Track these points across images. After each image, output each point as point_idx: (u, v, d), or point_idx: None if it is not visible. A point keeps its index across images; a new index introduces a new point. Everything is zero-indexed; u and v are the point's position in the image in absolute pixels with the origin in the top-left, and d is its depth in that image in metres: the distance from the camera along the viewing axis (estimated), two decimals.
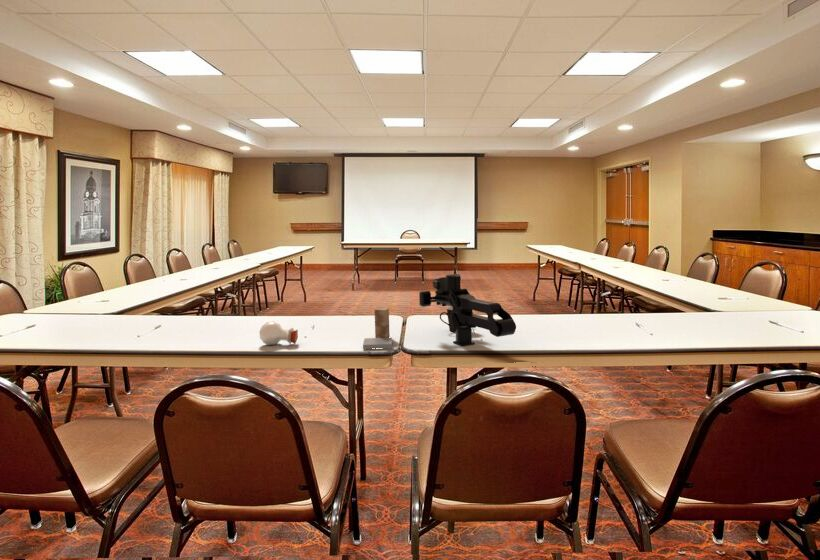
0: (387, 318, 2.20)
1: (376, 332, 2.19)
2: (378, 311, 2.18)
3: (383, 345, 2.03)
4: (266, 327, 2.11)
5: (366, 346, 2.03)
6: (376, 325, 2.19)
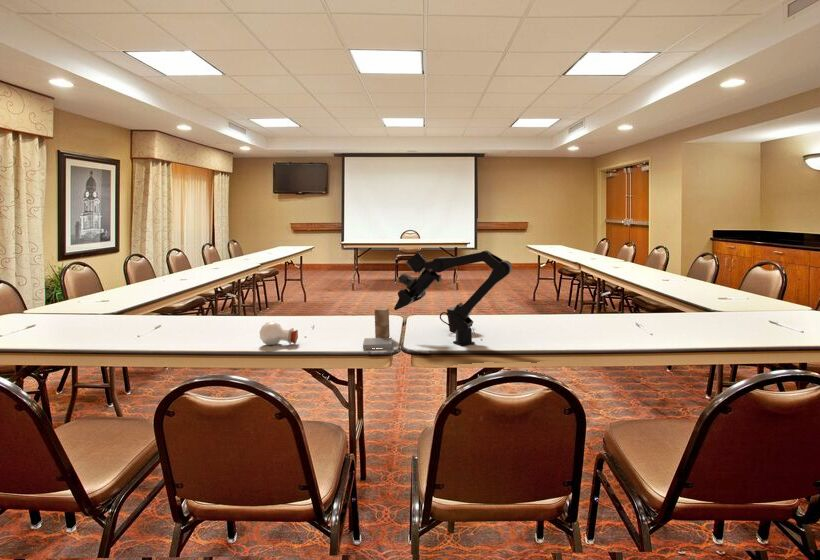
0: (387, 318, 2.20)
1: (376, 332, 2.19)
2: (378, 311, 2.18)
3: (383, 345, 2.03)
4: (266, 327, 2.11)
5: (366, 346, 2.03)
6: (376, 325, 2.19)
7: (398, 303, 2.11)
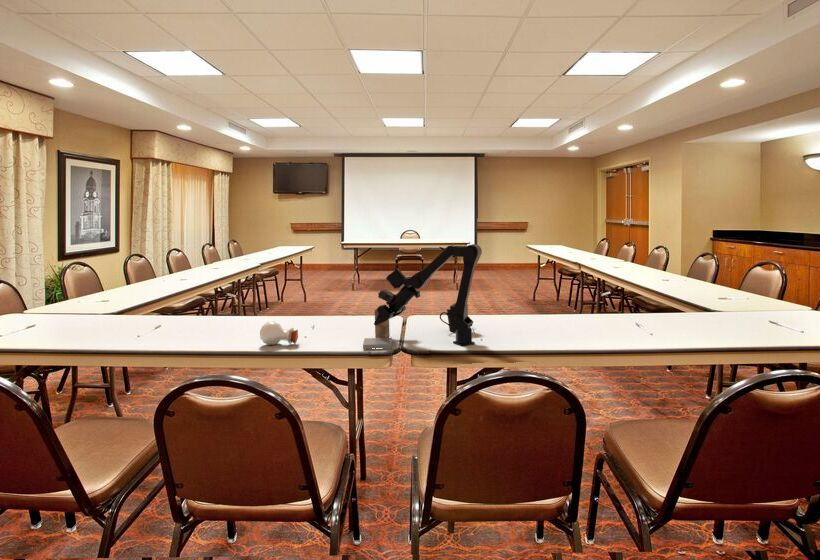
0: None
1: (376, 332, 2.19)
2: None
3: (383, 345, 2.03)
4: (266, 327, 2.11)
5: (366, 346, 2.03)
6: (376, 325, 2.19)
7: (378, 318, 2.15)
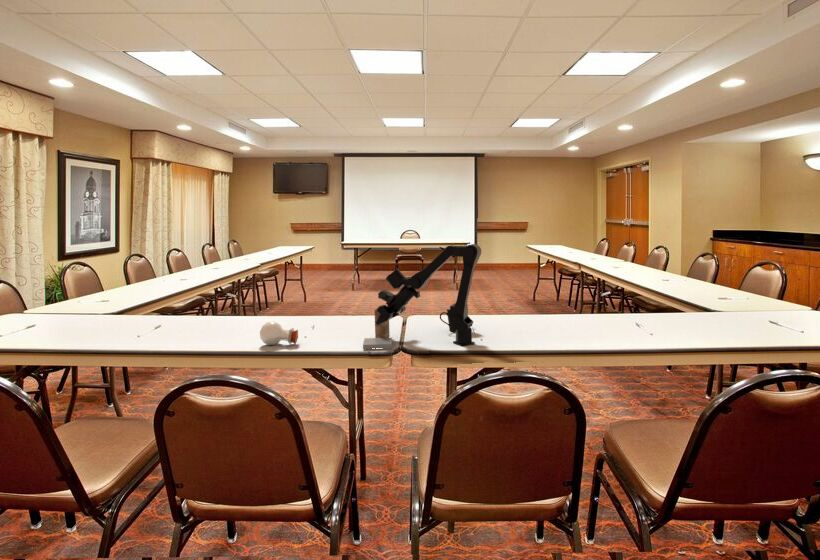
0: None
1: (376, 332, 2.19)
2: None
3: (383, 345, 2.03)
4: (266, 327, 2.11)
5: (366, 346, 2.03)
6: (376, 325, 2.19)
7: (380, 318, 2.17)
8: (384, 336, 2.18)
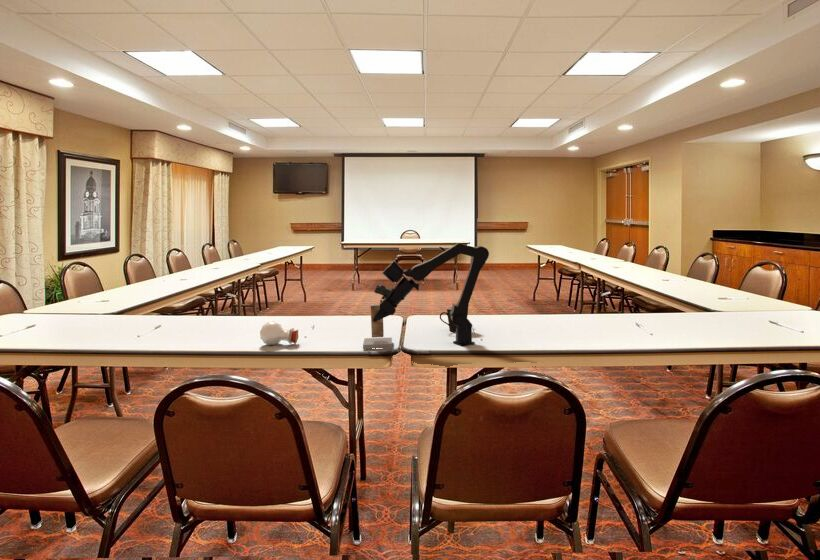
0: None
1: (372, 330, 2.05)
2: (375, 307, 2.04)
3: (383, 345, 2.03)
4: (267, 327, 2.11)
5: (366, 346, 2.03)
6: (372, 322, 2.05)
7: (378, 314, 2.03)
8: (382, 333, 2.06)
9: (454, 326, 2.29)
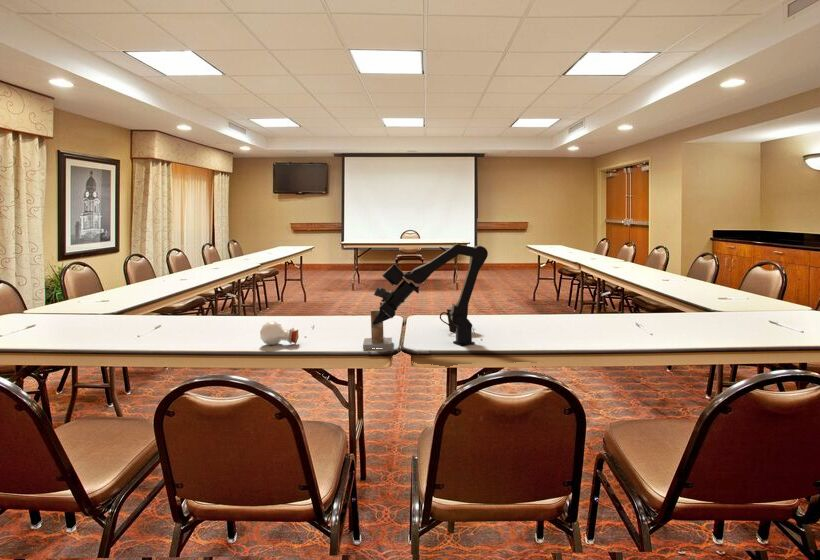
0: None
1: (372, 335, 2.05)
2: (375, 312, 2.04)
3: (383, 345, 2.03)
4: (267, 327, 2.11)
5: (366, 346, 2.03)
6: (372, 327, 2.05)
7: (378, 317, 2.02)
8: (382, 338, 2.06)
9: (454, 326, 2.29)
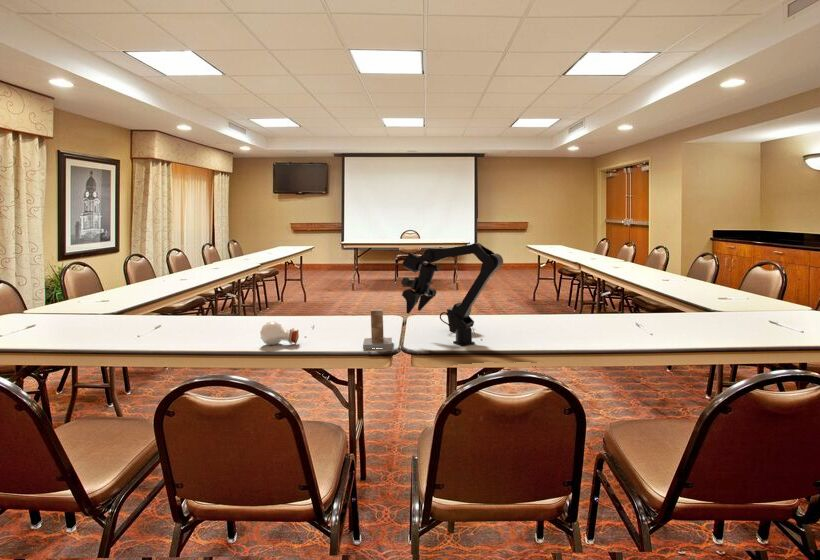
0: None
1: (372, 335, 2.05)
2: (375, 312, 2.04)
3: (383, 345, 2.03)
4: (267, 327, 2.11)
5: (366, 346, 2.03)
6: (372, 327, 2.05)
7: (408, 305, 2.12)
8: (382, 338, 2.06)
9: None
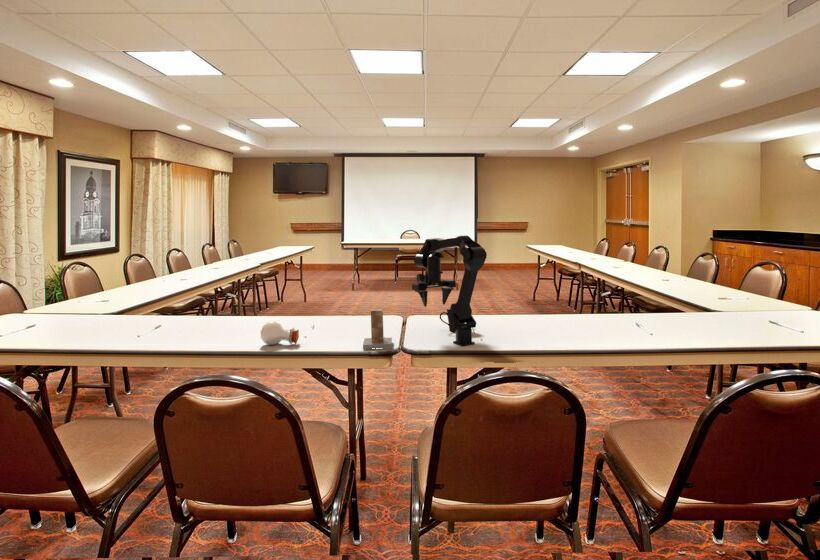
0: None
1: (372, 335, 2.05)
2: (375, 312, 2.04)
3: (383, 345, 2.03)
4: (267, 327, 2.11)
5: (366, 346, 2.03)
6: (372, 327, 2.05)
7: (422, 298, 2.19)
8: (382, 338, 2.06)
9: None
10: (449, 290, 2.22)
